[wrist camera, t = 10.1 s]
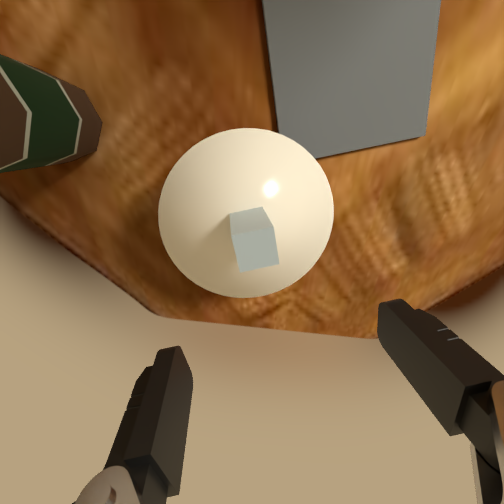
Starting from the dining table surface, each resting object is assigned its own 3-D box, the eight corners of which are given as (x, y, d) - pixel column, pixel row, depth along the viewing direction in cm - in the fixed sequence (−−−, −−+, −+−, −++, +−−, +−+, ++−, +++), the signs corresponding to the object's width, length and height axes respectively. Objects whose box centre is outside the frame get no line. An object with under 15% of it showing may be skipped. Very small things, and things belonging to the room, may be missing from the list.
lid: (325, 110, 20) (367, 98, 14) (333, 275, 27) (363, 313, 21) (131, 150, 19) (93, 155, 14) (190, 307, 26) (180, 353, 21)
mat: (444, -74, 22) (450, -79, 21) (421, 135, 29) (425, 135, 28) (257, -37, 21) (257, -42, 21) (282, 164, 29) (283, 165, 28)
